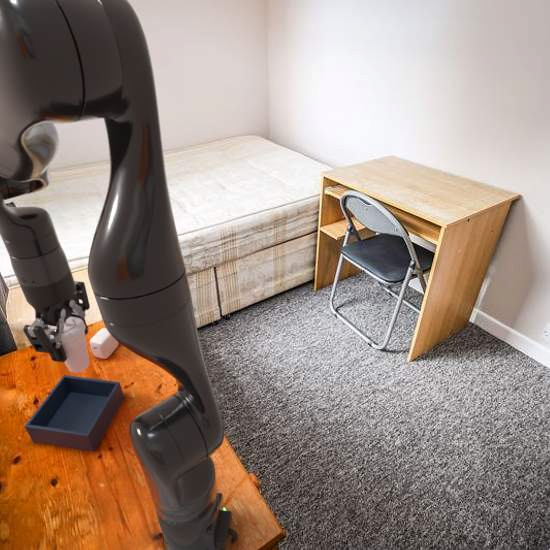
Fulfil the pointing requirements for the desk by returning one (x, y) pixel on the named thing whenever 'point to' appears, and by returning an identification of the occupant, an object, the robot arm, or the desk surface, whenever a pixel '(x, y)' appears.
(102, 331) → the power adapter
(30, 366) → the desk surface
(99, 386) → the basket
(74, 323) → the smoothie
